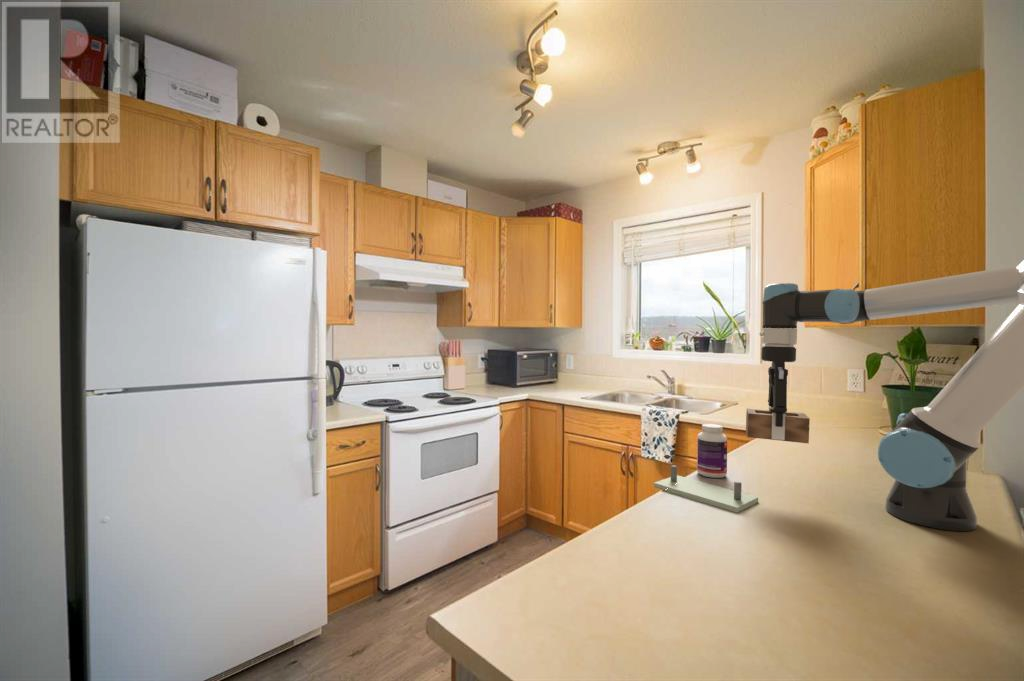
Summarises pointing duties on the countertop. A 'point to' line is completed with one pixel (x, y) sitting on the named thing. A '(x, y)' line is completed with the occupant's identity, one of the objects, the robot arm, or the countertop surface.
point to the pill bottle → (712, 451)
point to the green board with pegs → (707, 492)
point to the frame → (762, 425)
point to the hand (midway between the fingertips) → (775, 435)
